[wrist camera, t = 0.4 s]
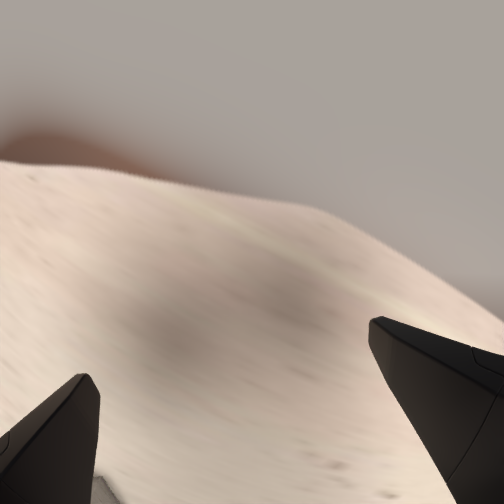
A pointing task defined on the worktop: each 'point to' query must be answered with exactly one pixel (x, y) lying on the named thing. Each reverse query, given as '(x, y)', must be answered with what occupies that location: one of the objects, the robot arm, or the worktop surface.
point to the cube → (102, 492)
